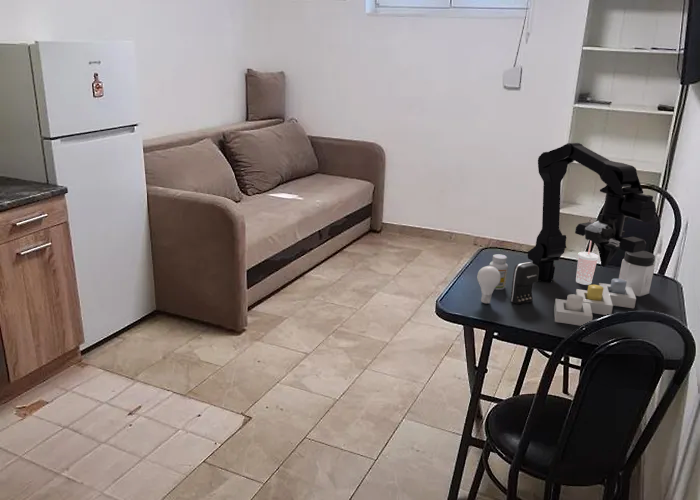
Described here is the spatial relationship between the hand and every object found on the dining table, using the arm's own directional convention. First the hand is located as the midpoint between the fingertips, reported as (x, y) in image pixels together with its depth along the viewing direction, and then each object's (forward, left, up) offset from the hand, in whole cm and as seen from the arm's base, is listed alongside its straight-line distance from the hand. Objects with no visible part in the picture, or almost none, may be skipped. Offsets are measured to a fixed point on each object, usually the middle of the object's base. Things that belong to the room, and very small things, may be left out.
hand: (603, 266), depth 172 cm
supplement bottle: (-28, +4, -12) cm, 31 cm away
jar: (+12, +17, -12) cm, 24 cm away
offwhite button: (-7, -11, -10) cm, 16 cm away
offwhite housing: (-7, -11, -12) cm, 18 cm away
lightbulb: (-30, -10, -12) cm, 34 cm away
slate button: (+6, +7, -10) cm, 14 cm away
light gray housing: (+6, +7, -12) cm, 15 cm away
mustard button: (-1, -1, -10) cm, 10 cm away
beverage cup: (-2, +19, -12) cm, 23 cm away
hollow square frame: (-1, -1, -12) cm, 12 cm away
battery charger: (-20, -5, -12) cm, 24 cm away
